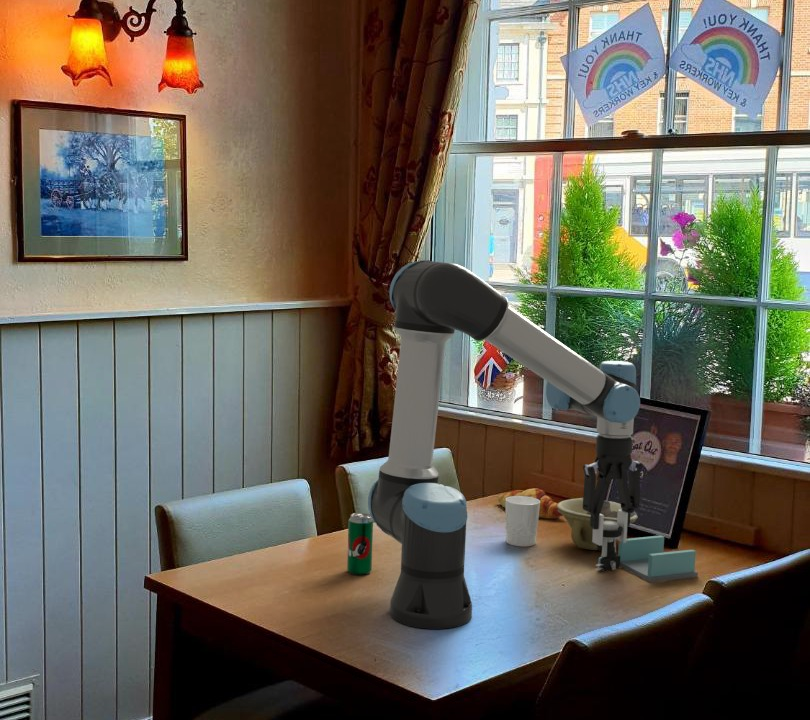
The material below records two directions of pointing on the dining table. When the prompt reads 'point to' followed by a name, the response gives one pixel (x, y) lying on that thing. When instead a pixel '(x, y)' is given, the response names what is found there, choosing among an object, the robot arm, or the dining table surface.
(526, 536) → the white cup
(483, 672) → the dining table surface
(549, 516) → the croissant
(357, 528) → the soda can
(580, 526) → the bowl
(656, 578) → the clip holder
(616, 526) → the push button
